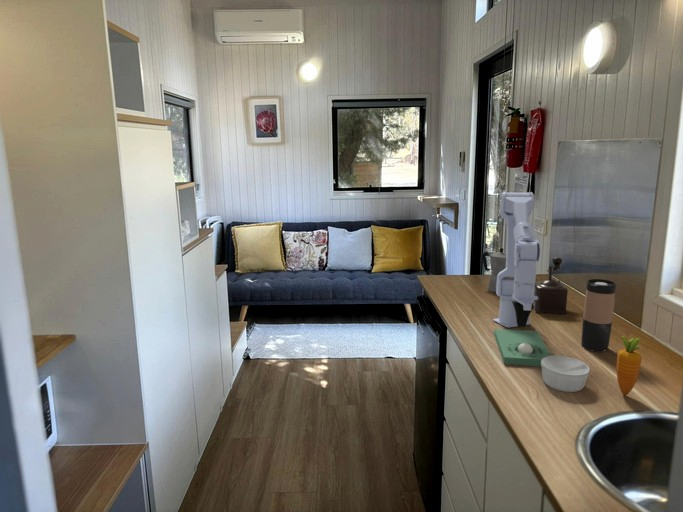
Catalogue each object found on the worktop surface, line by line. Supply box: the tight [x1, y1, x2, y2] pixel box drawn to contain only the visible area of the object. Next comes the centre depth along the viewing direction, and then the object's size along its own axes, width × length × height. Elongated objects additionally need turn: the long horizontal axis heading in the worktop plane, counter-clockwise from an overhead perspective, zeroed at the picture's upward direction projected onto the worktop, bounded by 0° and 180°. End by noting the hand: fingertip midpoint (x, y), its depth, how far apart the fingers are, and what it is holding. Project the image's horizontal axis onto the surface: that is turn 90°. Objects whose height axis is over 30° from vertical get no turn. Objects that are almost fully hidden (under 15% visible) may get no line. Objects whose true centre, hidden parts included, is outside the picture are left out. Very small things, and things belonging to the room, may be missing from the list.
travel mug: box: [581, 278, 617, 352], centre depth 144 cm, size 8×8×20 cm
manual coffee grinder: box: [533, 256, 569, 315], centre depth 181 cm, size 16×11×18 cm
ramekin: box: [540, 355, 591, 393], centre depth 124 cm, size 11×11×5 cm
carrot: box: [615, 335, 642, 396], centre depth 116 cm, size 5×5×15 cm
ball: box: [518, 343, 533, 354], centre depth 140 cm, size 4×4×4 cm
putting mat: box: [493, 328, 553, 367], centre depth 145 cm, size 22×13×2 cm, turn 170°
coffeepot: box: [481, 247, 510, 294], centre depth 204 cm, size 15×9×18 cm, turn 44°
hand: (521, 325), depth 147 cm, fingers closed
